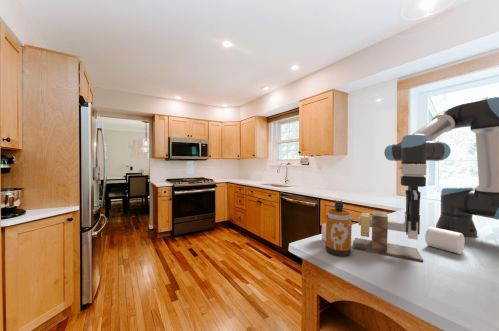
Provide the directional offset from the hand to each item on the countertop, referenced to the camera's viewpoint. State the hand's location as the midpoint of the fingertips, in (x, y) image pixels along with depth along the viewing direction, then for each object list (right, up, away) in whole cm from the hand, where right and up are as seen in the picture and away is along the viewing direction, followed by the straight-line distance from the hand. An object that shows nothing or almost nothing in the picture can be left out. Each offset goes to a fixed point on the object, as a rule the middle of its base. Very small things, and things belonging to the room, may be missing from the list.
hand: (411, 236), depth 80 cm
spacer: (-13, +3, +8) cm, 16 cm away
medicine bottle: (-25, -6, +12) cm, 28 cm away
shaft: (-7, +2, +4) cm, 8 cm away
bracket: (-8, -6, +4) cm, 11 cm away
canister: (-27, -6, +2) cm, 28 cm away
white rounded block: (+19, -7, +6) cm, 21 cm away
